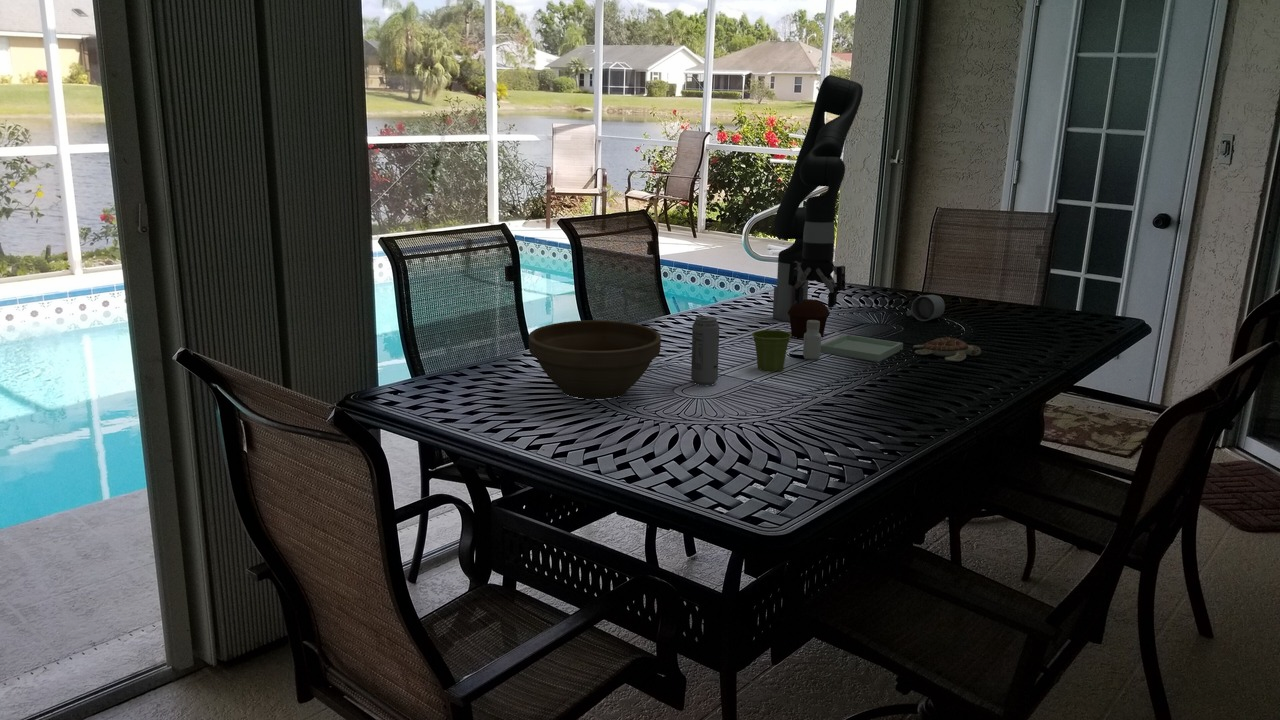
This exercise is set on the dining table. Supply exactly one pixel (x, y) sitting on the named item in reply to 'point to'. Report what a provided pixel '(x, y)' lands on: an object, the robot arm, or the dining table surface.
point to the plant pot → (771, 349)
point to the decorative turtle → (948, 349)
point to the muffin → (807, 316)
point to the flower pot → (594, 355)
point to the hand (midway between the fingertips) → (815, 305)
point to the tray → (861, 347)
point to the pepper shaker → (812, 340)
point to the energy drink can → (705, 350)
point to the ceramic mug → (927, 307)
